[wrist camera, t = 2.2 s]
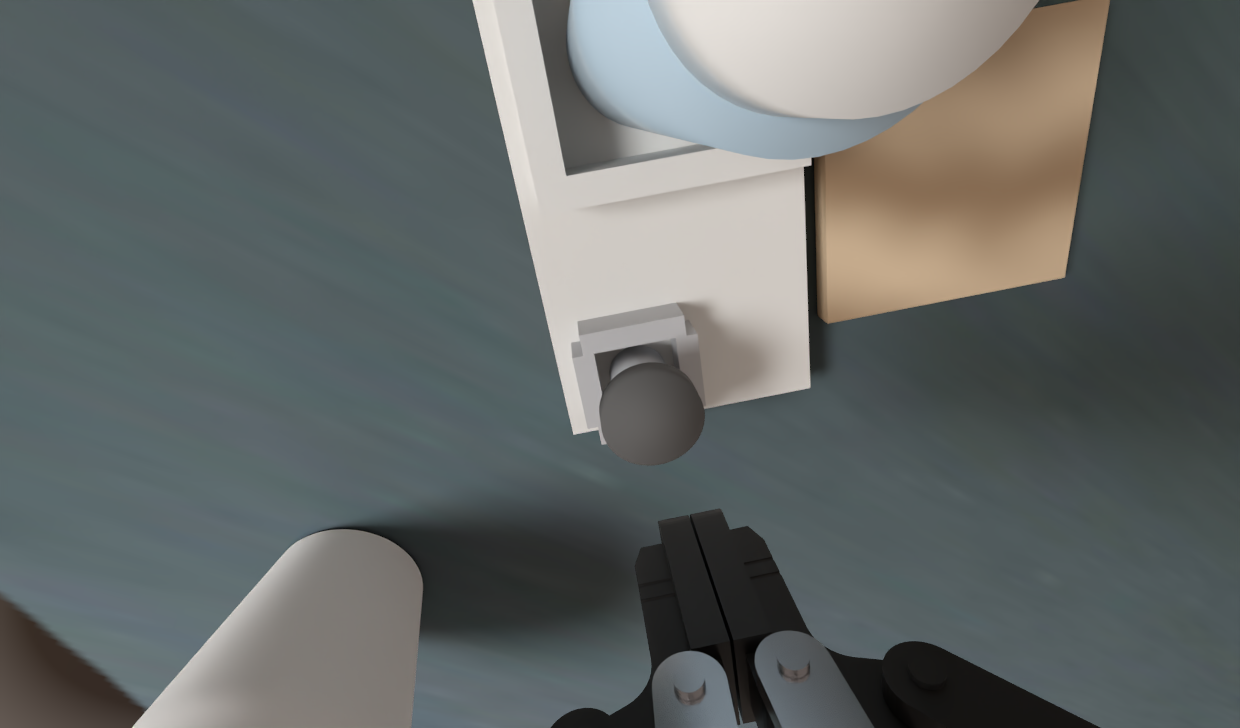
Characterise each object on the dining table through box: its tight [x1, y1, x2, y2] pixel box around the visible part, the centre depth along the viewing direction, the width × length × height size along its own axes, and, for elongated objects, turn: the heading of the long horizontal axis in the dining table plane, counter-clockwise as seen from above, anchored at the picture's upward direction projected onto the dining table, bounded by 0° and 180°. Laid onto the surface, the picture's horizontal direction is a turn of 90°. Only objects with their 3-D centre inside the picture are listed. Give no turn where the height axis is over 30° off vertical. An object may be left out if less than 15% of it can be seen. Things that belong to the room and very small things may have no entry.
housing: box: [473, 0, 811, 445], centre depth 20 cm, size 18×10×4 cm, turn 9°
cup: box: [132, 529, 423, 728], centre depth 22 cm, size 9×9×12 cm
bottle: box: [566, 0, 1039, 160], centre depth 12 cm, size 5×5×14 cm
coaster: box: [814, 0, 1110, 323], centre depth 22 cm, size 10×10×1 cm
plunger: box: [599, 345, 705, 465], centre depth 20 cm, size 3×3×4 cm
